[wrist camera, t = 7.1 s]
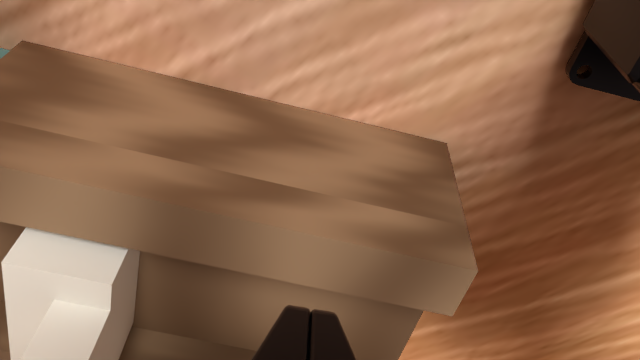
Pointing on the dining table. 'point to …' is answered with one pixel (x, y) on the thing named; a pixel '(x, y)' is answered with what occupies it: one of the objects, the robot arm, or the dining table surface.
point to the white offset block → (68, 297)
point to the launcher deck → (229, 206)
